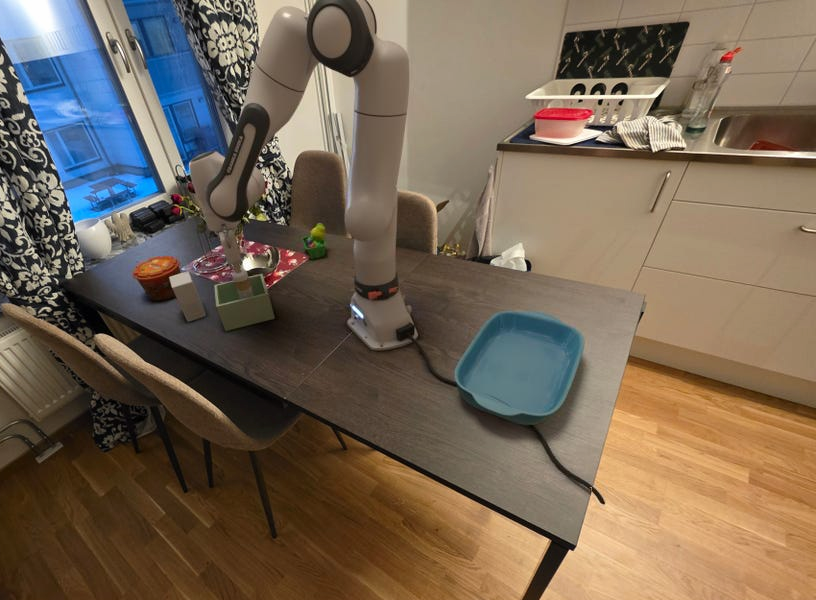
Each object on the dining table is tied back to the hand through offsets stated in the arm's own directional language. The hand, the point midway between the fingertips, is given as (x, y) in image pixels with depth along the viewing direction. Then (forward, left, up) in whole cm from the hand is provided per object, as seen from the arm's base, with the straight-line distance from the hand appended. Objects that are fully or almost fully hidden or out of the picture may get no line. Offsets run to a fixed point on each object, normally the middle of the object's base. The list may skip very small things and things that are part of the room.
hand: (237, 265), depth 114 cm
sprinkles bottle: (0, 0, -16) cm, 16 cm away
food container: (+28, +28, -17) cm, 43 cm away
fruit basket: (+31, -30, -17) cm, 46 cm away
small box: (+8, +18, -17) cm, 26 cm away
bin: (0, +1, -17) cm, 17 cm away
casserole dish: (-56, -57, -17) cm, 82 cm away
